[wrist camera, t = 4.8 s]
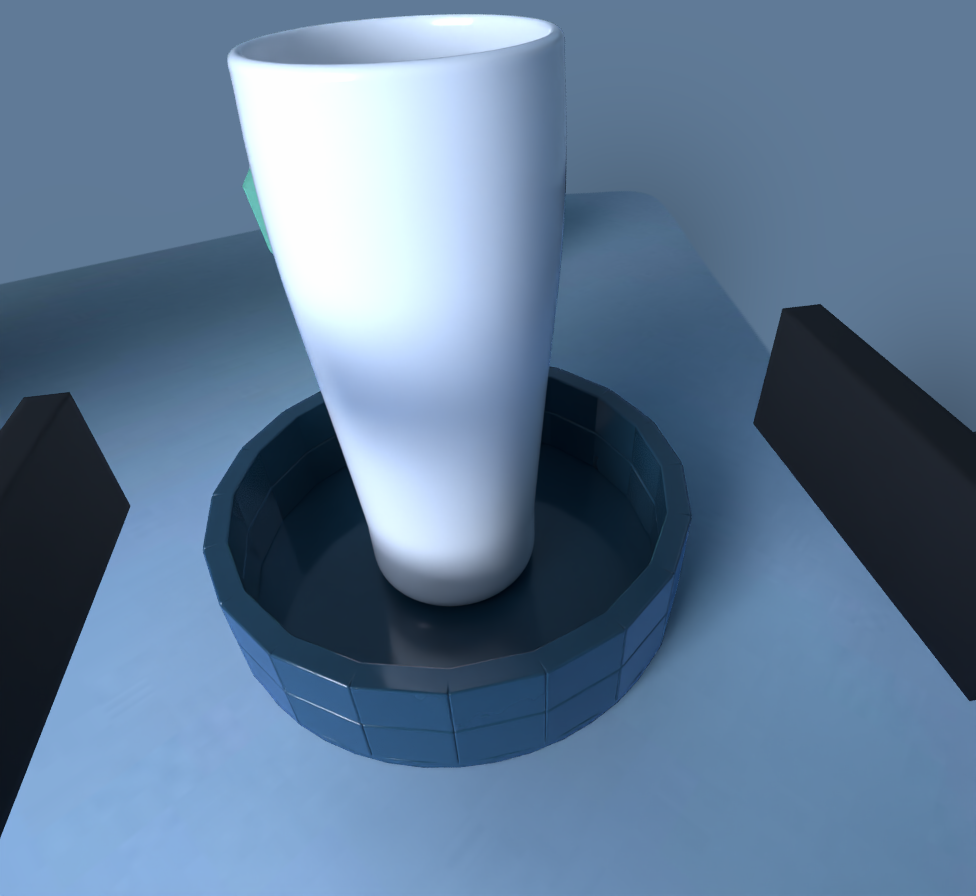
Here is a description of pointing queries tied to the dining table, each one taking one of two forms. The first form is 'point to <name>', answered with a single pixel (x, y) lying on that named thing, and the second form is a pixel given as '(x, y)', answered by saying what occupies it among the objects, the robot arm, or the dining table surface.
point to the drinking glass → (421, 268)
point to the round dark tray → (452, 629)
